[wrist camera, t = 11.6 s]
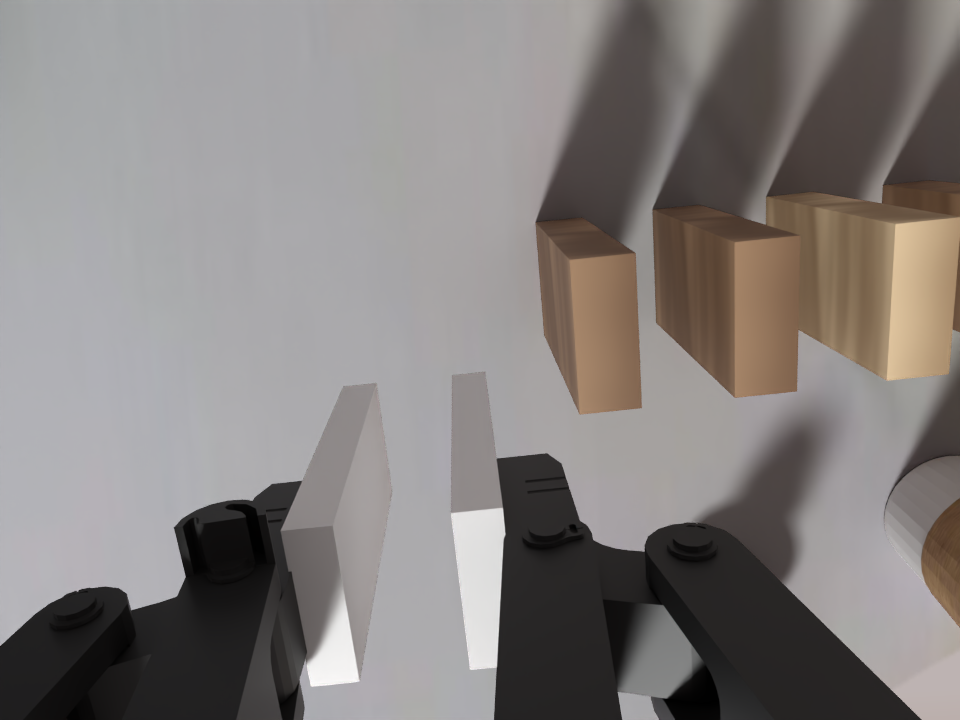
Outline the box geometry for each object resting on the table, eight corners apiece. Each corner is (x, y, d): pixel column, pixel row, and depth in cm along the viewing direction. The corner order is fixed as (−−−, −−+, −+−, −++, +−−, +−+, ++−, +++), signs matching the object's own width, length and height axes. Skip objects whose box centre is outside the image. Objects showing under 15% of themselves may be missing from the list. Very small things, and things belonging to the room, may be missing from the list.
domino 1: (544, 335, 34) (579, 414, 25) (535, 222, 33) (569, 260, 23) (588, 330, 34) (641, 408, 25) (582, 217, 33) (635, 253, 23)
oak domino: (765, 310, 34) (886, 380, 25) (766, 196, 33) (895, 224, 23) (810, 305, 34) (948, 374, 25) (812, 192, 33) (961, 216, 23)
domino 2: (656, 322, 34) (734, 397, 25) (652, 209, 33) (734, 242, 23) (701, 318, 34) (796, 391, 25) (699, 204, 33) (800, 235, 23)
